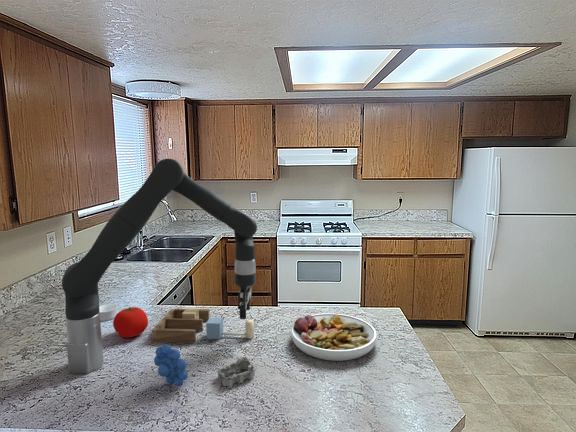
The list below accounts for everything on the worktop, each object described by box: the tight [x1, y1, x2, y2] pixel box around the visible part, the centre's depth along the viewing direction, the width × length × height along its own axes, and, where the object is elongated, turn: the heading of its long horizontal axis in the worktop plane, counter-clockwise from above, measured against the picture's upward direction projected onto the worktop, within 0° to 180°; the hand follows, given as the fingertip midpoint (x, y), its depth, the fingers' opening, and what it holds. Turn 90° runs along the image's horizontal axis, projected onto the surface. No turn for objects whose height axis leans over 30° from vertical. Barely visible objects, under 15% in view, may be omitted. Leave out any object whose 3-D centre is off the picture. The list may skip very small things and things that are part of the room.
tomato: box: [112, 306, 149, 339], centre depth 141 cm, size 11×12×10 cm
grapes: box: [153, 343, 189, 387], centre depth 109 cm, size 12×7×12 cm, turn 67°
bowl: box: [290, 313, 377, 362], centre depth 135 cm, size 30×30×8 cm
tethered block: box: [205, 317, 255, 340], centre depth 140 cm, size 5×17×6 cm, turn 87°
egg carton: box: [216, 356, 257, 387], centre depth 114 cm, size 11×8×4 cm
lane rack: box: [151, 308, 210, 344], centre depth 145 cm, size 20×16×4 cm
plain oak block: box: [182, 308, 199, 319], centre depth 150 cm, size 5×5×6 cm
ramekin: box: [99, 303, 119, 322], centre depth 157 cm, size 9×9×4 cm
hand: (244, 314), depth 138 cm, fingers open, 8 cm apart
